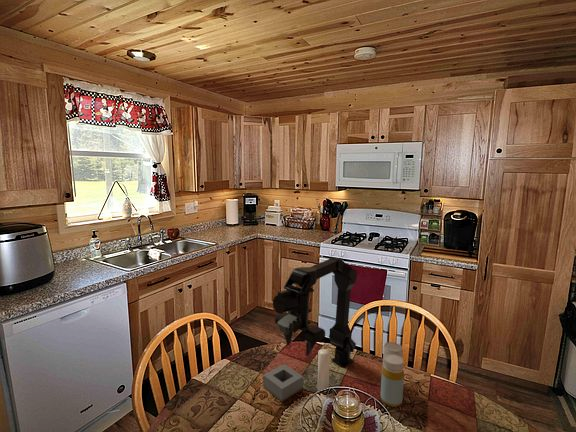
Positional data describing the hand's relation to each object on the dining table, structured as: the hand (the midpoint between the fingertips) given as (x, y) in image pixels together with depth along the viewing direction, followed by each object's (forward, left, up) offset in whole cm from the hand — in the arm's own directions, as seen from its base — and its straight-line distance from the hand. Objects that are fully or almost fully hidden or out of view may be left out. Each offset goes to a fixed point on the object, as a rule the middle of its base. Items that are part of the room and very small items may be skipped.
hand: (297, 350), depth 109 cm
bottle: (-21, +24, -16) cm, 36 cm away
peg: (-8, +5, -15) cm, 18 cm away
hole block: (+2, -5, -15) cm, 16 cm away
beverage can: (-28, +20, -16) cm, 38 cm away
